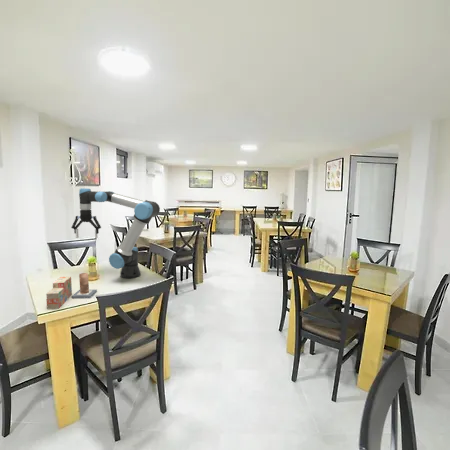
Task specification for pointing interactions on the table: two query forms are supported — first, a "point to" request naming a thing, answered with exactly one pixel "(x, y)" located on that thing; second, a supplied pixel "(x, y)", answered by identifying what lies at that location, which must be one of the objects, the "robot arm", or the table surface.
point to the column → (84, 283)
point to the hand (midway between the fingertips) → (86, 237)
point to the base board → (86, 295)
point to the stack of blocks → (59, 293)
